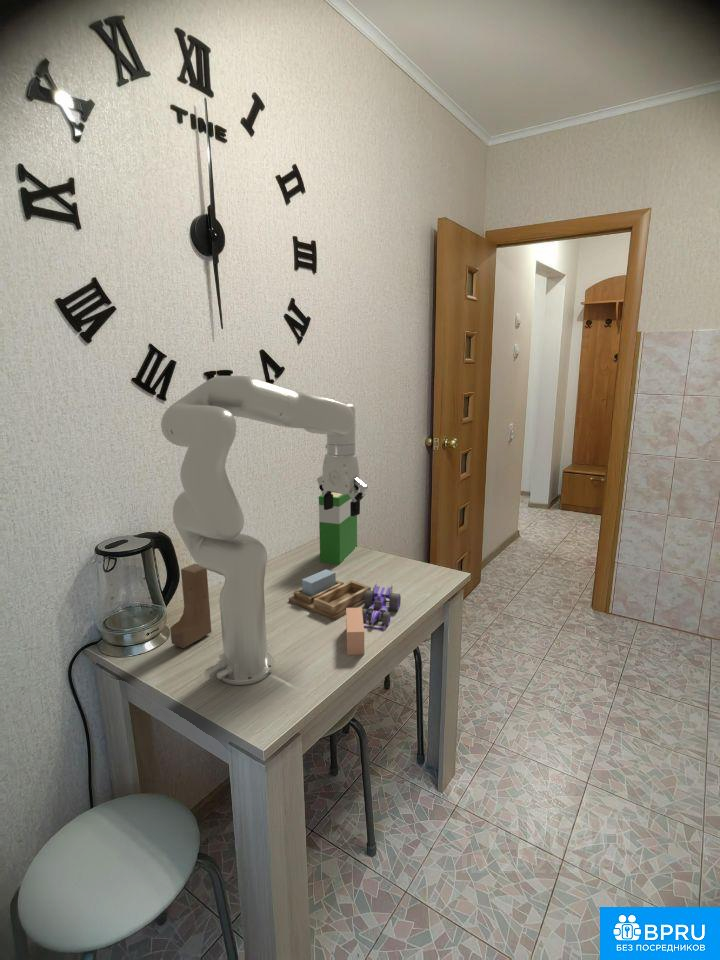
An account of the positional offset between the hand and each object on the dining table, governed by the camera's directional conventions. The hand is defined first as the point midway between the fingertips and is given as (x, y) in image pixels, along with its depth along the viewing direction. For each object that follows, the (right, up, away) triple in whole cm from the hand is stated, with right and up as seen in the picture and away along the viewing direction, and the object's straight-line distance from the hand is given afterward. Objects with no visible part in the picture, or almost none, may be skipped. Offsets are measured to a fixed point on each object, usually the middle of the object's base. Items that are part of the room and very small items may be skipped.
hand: (341, 512), depth 134 cm
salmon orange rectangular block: (+4, -31, -13) cm, 34 cm away
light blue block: (-7, -25, +12) cm, 28 cm away
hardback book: (-2, -19, +43) cm, 47 cm away
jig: (-3, -26, +9) cm, 28 cm away
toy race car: (+10, -29, -1) cm, 31 cm away
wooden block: (-37, -31, -11) cm, 50 cm away
